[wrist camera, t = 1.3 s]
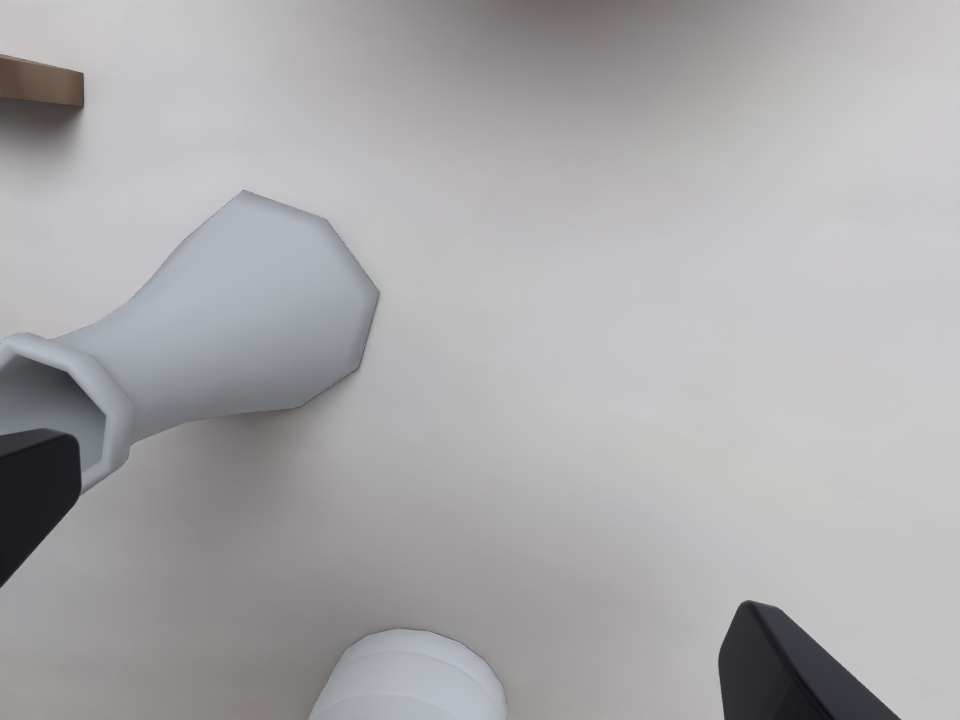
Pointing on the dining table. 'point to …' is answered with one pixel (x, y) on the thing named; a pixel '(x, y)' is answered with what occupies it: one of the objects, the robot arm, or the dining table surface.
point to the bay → (39, 82)
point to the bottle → (410, 681)
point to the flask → (200, 337)
